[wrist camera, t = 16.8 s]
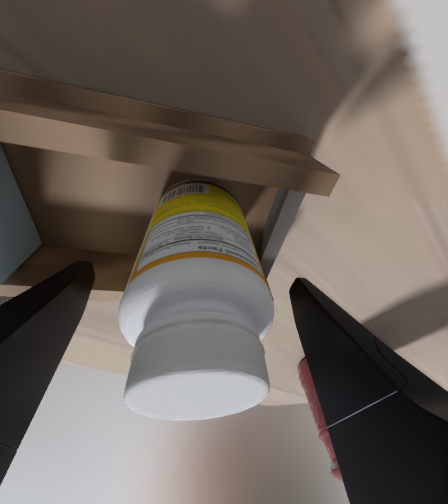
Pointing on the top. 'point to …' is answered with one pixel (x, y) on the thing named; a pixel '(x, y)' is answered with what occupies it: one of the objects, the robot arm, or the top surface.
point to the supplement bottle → (196, 309)
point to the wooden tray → (136, 175)
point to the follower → (14, 224)
